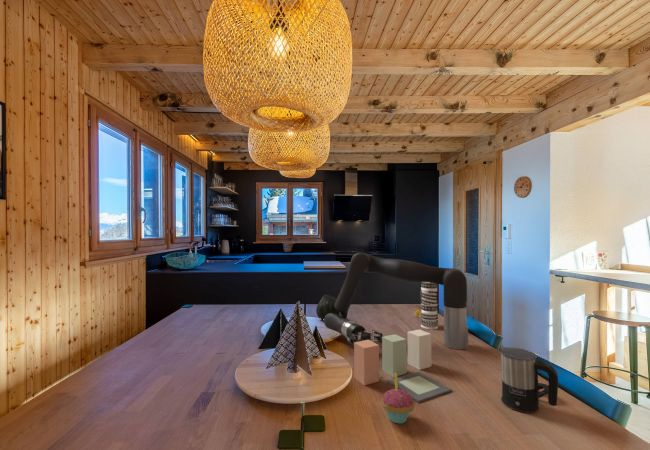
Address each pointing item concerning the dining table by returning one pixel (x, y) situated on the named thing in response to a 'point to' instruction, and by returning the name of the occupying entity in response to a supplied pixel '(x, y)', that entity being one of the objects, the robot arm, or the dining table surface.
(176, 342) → the dining table surface
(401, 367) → the sage block
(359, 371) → the terracotta block
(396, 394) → the cupcake
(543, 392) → the milk frother
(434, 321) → the decorative candle
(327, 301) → the squash
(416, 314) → the bread roll
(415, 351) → the cream block
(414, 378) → the slate mat
